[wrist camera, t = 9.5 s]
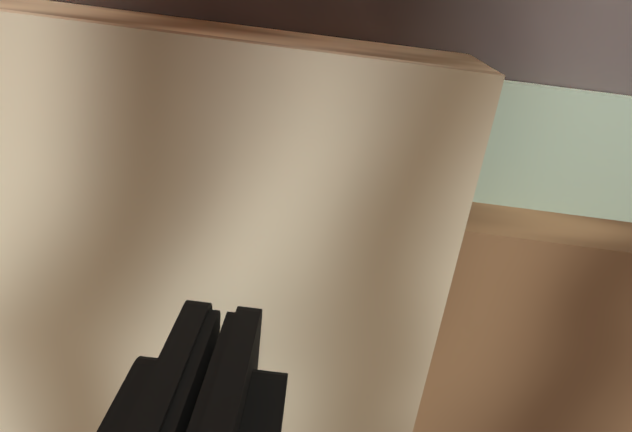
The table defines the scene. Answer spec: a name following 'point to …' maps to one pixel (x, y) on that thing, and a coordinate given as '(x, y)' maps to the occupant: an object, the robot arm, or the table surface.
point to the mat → (559, 152)
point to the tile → (534, 327)
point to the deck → (227, 206)
